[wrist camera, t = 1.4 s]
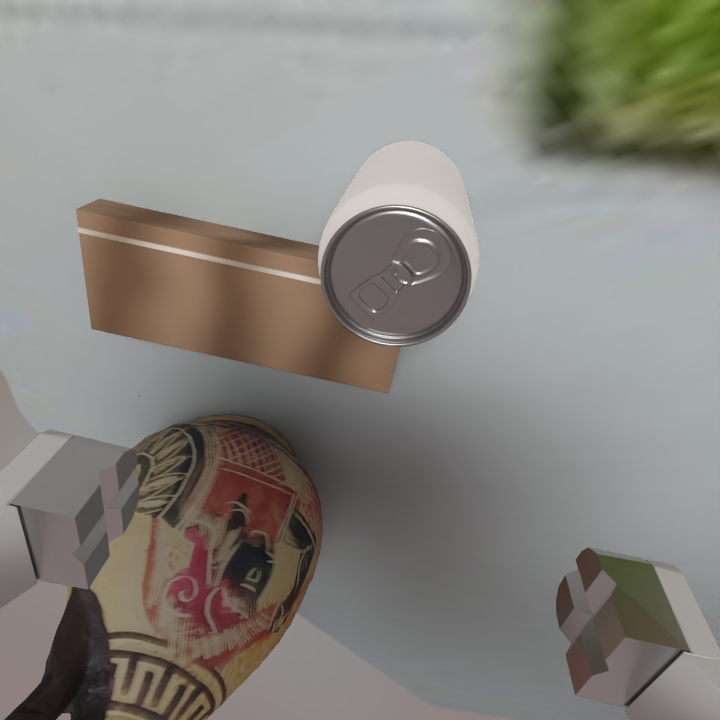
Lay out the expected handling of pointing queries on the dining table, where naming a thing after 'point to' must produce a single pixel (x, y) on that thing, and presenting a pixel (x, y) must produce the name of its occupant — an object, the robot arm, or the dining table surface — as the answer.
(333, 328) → the plank
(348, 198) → the can
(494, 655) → the dining table surface
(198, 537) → the ceramic jug
